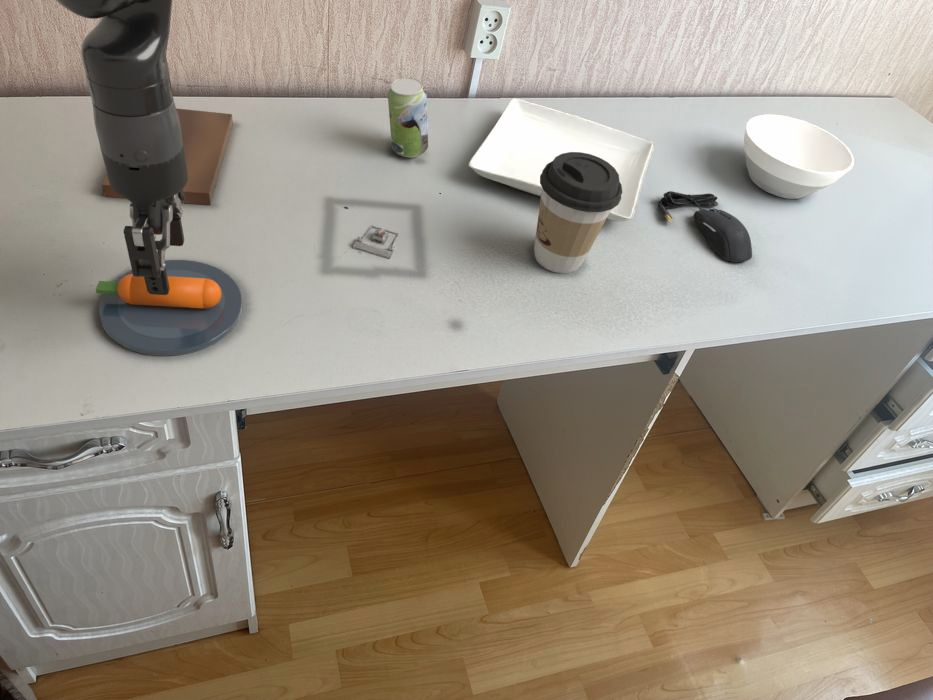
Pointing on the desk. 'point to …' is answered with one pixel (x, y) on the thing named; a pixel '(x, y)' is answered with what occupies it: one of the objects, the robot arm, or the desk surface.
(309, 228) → the desk surface
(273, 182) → the desk surface
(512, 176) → the square plate
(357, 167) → the desk surface
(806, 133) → the bowl
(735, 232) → the computer mouse
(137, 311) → the slate plate
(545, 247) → the coffee cup
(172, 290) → the carrot
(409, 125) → the beverage can
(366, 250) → the metal mounting bracket
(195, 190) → the cutting board
